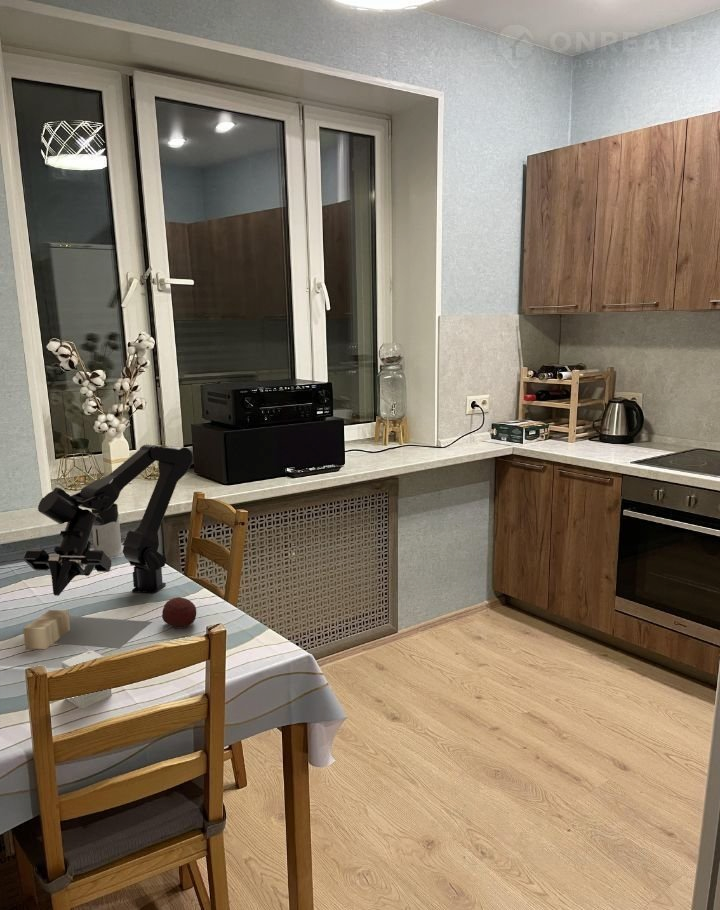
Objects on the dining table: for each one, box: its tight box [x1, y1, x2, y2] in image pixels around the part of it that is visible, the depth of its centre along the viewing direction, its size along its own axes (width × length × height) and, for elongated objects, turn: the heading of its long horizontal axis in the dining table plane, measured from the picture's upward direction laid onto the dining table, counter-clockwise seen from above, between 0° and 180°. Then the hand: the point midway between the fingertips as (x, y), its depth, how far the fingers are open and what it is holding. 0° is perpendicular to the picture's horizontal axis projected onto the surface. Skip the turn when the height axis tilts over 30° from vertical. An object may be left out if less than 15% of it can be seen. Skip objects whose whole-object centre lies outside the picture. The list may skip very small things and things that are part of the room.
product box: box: [61, 650, 113, 709], centre depth 125 cm, size 6×6×7 cm
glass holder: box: [90, 502, 124, 558], centre depth 210 cm, size 9×14×15 cm, turn 131°
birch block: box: [22, 609, 71, 650], centre depth 149 cm, size 4×4×10 cm
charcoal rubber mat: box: [53, 615, 152, 649], centre depth 153 cm, size 22×14×1 cm, turn 79°
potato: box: [161, 596, 197, 629], centre depth 156 cm, size 7×10×6 cm
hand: (55, 595), depth 153 cm, fingers closed
